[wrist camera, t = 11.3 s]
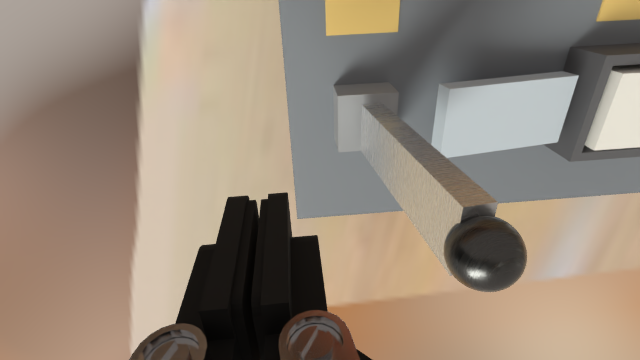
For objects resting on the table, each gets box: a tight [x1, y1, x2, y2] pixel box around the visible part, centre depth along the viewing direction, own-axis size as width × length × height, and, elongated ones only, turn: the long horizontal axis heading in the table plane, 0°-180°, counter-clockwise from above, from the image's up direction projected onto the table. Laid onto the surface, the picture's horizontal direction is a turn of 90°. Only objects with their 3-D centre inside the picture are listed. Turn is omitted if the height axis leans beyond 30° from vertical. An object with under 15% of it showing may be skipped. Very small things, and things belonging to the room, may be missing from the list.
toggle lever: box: [361, 102, 527, 292], centre depth 13 cm, size 2×2×10 cm
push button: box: [585, 64, 640, 150], centre depth 19 cm, size 4×4×2 cm
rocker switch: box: [431, 71, 579, 158], centre depth 18 cm, size 7×4×1 cm, turn 92°
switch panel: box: [279, 0, 640, 219], centre depth 20 cm, size 26×14×6 cm, turn 92°
